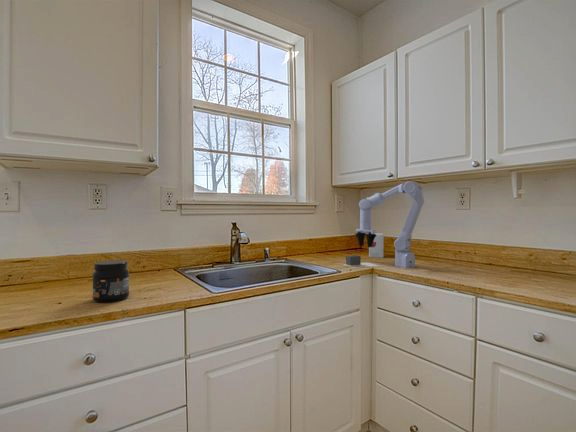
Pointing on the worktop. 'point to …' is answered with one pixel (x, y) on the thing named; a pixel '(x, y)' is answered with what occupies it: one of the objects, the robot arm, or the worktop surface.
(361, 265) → the board
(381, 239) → the supplement box
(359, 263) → the block
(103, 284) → the supplement container
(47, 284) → the worktop surface
